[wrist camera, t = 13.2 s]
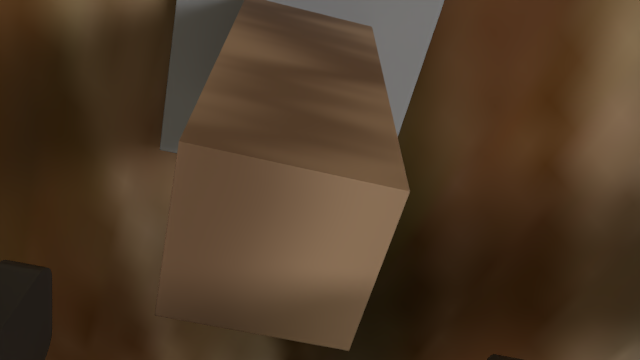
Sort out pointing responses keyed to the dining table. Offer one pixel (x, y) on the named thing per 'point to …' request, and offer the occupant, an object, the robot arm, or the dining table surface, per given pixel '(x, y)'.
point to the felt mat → (344, 3)
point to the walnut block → (284, 182)
